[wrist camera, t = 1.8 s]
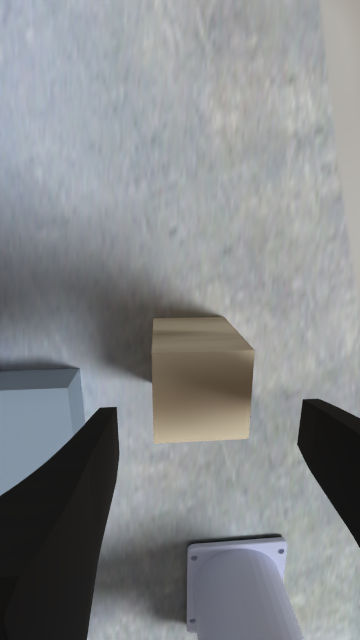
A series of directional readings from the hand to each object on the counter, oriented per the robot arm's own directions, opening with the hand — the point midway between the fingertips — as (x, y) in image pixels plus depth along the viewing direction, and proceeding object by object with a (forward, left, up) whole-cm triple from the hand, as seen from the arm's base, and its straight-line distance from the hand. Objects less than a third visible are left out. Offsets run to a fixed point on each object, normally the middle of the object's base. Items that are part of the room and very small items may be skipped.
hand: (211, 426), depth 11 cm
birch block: (0, 0, -8) cm, 8 cm away
